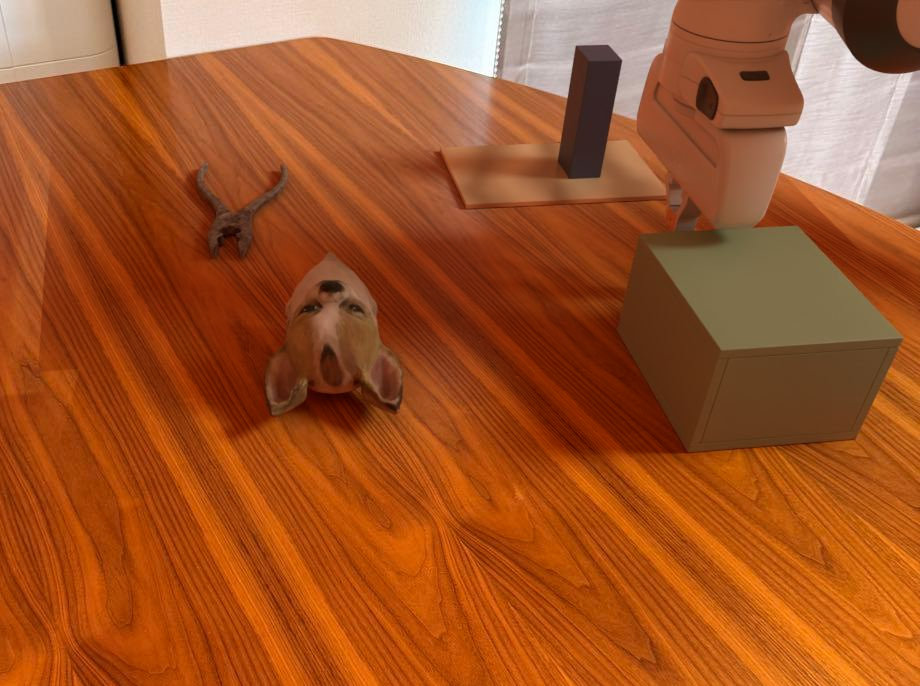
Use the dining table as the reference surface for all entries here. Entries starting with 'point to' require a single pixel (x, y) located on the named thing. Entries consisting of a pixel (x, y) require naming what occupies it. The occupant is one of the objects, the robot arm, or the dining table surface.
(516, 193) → the mat
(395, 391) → the ceramic sculpture
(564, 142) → the block
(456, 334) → the dining table surface
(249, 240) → the pliers
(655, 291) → the cabinet
